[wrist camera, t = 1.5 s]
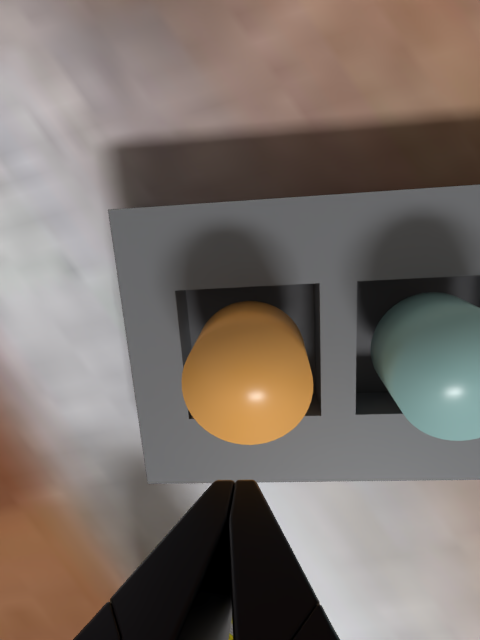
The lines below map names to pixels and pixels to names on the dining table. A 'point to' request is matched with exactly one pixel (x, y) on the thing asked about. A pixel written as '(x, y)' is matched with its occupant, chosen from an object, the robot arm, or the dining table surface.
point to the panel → (308, 314)
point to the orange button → (248, 374)
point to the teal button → (432, 363)
